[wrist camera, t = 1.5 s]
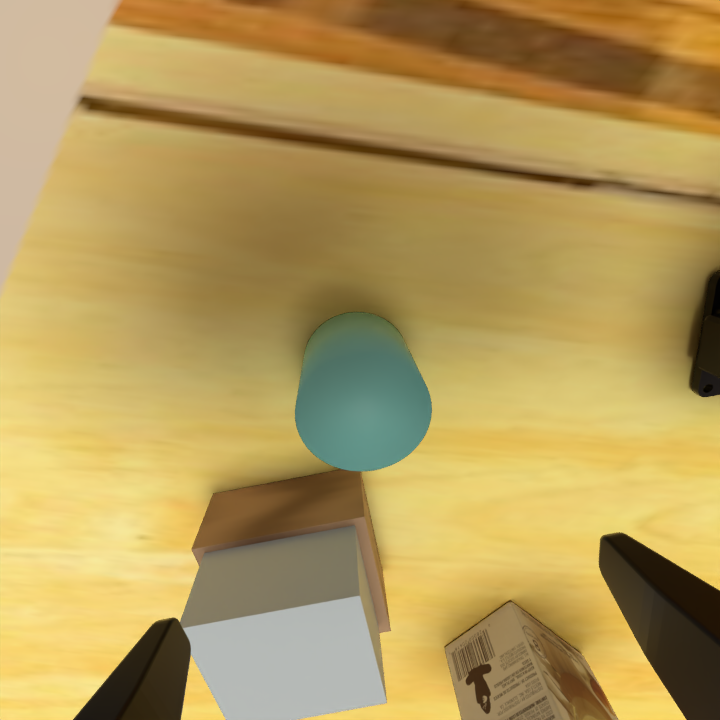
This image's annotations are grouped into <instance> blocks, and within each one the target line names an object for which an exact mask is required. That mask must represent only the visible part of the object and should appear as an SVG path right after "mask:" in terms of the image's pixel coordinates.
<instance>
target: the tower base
mask: <svg viewBox="0 0 720 720" xmlns="http://www.w3.org/2000/svg"><path fill="white" fill-rule="evenodd" d="M353 525H355V528H356V532H357V537H358V541H359V545H360V549H361V553H362V558H363V562H364V566H365V570H366V575H367V579H368V583H369V587H370V592H371V596H372V600H373V604H374V609H375V613H376V617H377V621H378V626H379V633H382V632H387V631H391V629H390V622H389V615H388V607H387V600H386V593H385V585H384V578H383V571H382V566H381V562H380V557H379V553H378V548H377V544H376V539H375V535H374V530H373V526H372V521H371V516H370V512H369V507H368V503H367V498H366V494H365V489H364V485H363V480H362V476H361V471H349V470H344V469H341V470H335V471H330V472H325V473H320V474H314V475H309V476H304V477H299V478H293V479H288V480H283V481H278V482H273V483H267V484H262V485H257V486H252V487H246V488H241V489H236V490H231V491H225V492H220V493H215V494H213V495H212V498H211V501H210V503H209V506H208V508H207V511H206V513H205V516H204V519H203V521H202V524H201V526H200V529H199V531H198V534H197V536H196V539H195V542H194V544H193V547H192V552H193V554H194V556H195V558H196V560H197V562H198V564H199V567H200V564H201V561H202V558H203V555H204V553H207V552H212V551H218V550H223V549H229V548H234V547H240V546H245V545H250V544H256V543H261V542H267V541H272V540H277V539H283V538H288V537H294V536H299V535H304V534H310V533H315V532H321V531H326V530H332V529H337V528H342V527H348V526H353Z"/></svg>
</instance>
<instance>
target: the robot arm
mask: <svg viewBox="0 0 720 720" xmlns="http://www.w3.org/2000/svg"><path fill="white" fill-rule="evenodd" d="M692 391H693V392H694V393H696V394H698V395H700V396H702V397H709V396H714V395H720V270H719V271H717V272H716V273H714V274H713V275H712V277H711V278H710V280H709V284H708V290H707V296H706V303H705V309H704V315H703V321H702V327H701V333H700V339H699V346H698V352H697V358H696V364H695V370H694V376H693V382H692ZM599 568H600V571H601V574H602V576H603V578H604V580H605V581H606V583H607V585H608V587H609V589H610V591H611V593H612V595H613V596H614V598H615V600H616V602H617V604H618V606H619V608H620V610H621V612H622V613H623V615H624V617H625V619H626V621H627V623H628V625H629V627H630V628H631V630H632V632H633V634H634V636H635V638H636V640H637V642H638V643H639V645H640V647H641V649H642V651H643V652H644V654H645V656H646V657H647V659H648V661H649V662H650V664H651V665H652V667H653V669H654V670H655V672H656V673H657V675H658V676H659V678H660V679H661V681H662V683H663V684H664V686H665V687H666V689H667V690H668V692H669V693H670V695H671V696H672V698H673V699H674V701H675V703H676V704H677V706H678V707H679V709H680V710H681V712H682V713H683V715H684V716H685V718H686V719H687V720H720V591H719V590H718V589H716V588H714V587H713V586H711V585H709V584H708V583H706V582H704V581H703V580H701V579H699V578H698V577H696V576H694V575H693V574H691V573H690V572H688V571H686V570H685V569H683V568H681V567H680V566H678V565H676V564H675V563H673V562H671V561H670V560H668V559H666V558H665V557H663V556H661V555H660V554H658V553H656V552H655V551H653V550H651V549H650V548H648V547H646V546H645V545H643V544H641V543H640V542H638V541H636V540H635V539H633V538H631V537H630V536H628V535H626V534H624V533H620V532H619V533H612V534H607V535H603V536H602V537H601V539H600V550H599ZM190 655H191V645H190V641H189V639H188V637H187V635H186V633H185V631H184V630H183V628H182V626H181V624H180V622H179V621H178V619H176V618H168V619H163V620H159V621H156V622H155V623H154V624H153V625H152V626H151V627H150V628H149V629H148V630H147V632H146V633H145V634H144V635H143V636H142V638H141V639H140V640H139V641H138V642H137V644H136V645H135V646H134V647H133V648H132V650H131V651H130V652H129V653H128V654H127V656H126V657H125V658H124V659H123V660H122V661H121V663H120V664H119V665H118V666H117V667H116V669H115V670H114V671H113V672H112V673H111V675H110V676H109V677H108V678H107V679H106V681H105V682H104V683H103V684H102V685H101V687H100V688H99V689H98V690H97V691H96V693H95V694H94V695H93V696H92V697H91V699H90V700H89V701H88V702H87V703H86V705H85V706H84V707H83V708H82V709H81V711H80V712H79V713H78V714H77V715H76V717H75V718H74V719H73V720H181V715H182V708H183V701H184V695H185V688H186V682H187V675H188V669H189V662H190Z"/></svg>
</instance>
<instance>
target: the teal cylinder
mask: <svg viewBox="0 0 720 720" xmlns="http://www.w3.org/2000/svg"><path fill="white" fill-rule="evenodd" d="M431 413H432V405H431V398H430V394H429V391H428V388H427V386H426V384H425V382H424V380H423V378H422V376H421V374H420V372H419V370H418V368H417V366H416V364H415V362H414V360H413V358H412V356H411V353H410V351H409V349H408V347H407V345H406V343H405V341H404V339H403V337H402V336H401V334H400V333H399V331H398V330H397V329H396V328H395V327H394V326H393V325H392V324H391V323H389V322H388V321H387V320H385V319H383V318H381V317H379V316H377V315H374V314H370V313H365V312H350V313H344V314H340V315H338V316H335V317H333V318H331V319H329V320H327V321H326V322H325V323H323V324H322V325H321V326H320V327H319V328H318V329H317V330H316V331H315V332H314V333H313V335H312V336H311V338H310V339H309V341H308V344H307V346H306V349H305V353H304V359H303V365H302V371H301V377H300V383H299V389H298V395H297V401H296V408H295V421H296V426H297V430H298V432H299V435H300V437H301V439H302V441H303V442H304V444H305V445H306V447H307V448H308V449H309V450H310V451H311V452H312V453H313V454H314V455H315V456H316V457H318V458H319V459H320V460H322V461H324V462H325V463H327V464H329V465H332V466H334V467H337V468H340V469H344V470H349V471H372V470H377V469H382V468H385V467H388V466H390V465H393V464H395V463H397V462H399V461H400V460H402V459H403V458H405V457H406V456H408V455H409V454H410V453H411V452H412V451H413V450H414V449H415V448H416V447H417V446H418V445H419V443H420V442H421V441H422V439H423V438H424V436H425V434H426V432H427V430H428V427H429V424H430V420H431Z"/></svg>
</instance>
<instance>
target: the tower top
mask: <svg viewBox="0 0 720 720" xmlns="http://www.w3.org/2000/svg"><path fill="white" fill-rule="evenodd" d="M180 624H181V626H182V628H183V630H184V631H185V633H186V635H187V637H188V639H189V641H190V645H191V655H192V657H193V659H194V661H195V663H196V665H197V666H198V668H199V670H200V672H201V674H202V676H203V678H204V680H205V681H206V683H207V685H208V687H209V689H210V691H211V693H212V695H213V696H214V698H215V700H216V702H217V704H218V706H219V708H220V710H221V711H222V713H223V715H224V717H225V719H226V720H297V719H302V718H308V717H313V716H319V715H324V714H330V713H335V712H341V711H346V710H352V709H357V708H363V707H368V706H374V705H379V704H385V703H387V699H386V690H385V681H384V671H383V662H382V653H381V644H380V635H379V626H378V621H377V617H376V613H375V609H374V604H373V600H372V596H371V592H370V587H369V583H368V579H367V575H366V570H365V566H364V562H363V558H362V553H361V549H360V545H359V541H358V537H357V532H356V528H355V525H353V526H348V527H342V528H337V529H332V530H326V531H321V532H315V533H310V534H304V535H299V536H294V537H288V538H283V539H277V540H272V541H267V542H261V543H256V544H250V545H245V546H240V547H234V548H229V549H223V550H218V551H212V552H207V553H204V555H203V558H202V561H201V564H200V567H199V570H198V572H197V575H196V578H195V581H194V584H193V587H192V589H191V592H190V595H189V598H188V601H187V604H186V607H185V609H184V612H183V615H182V618H181V621H180Z"/></svg>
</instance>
